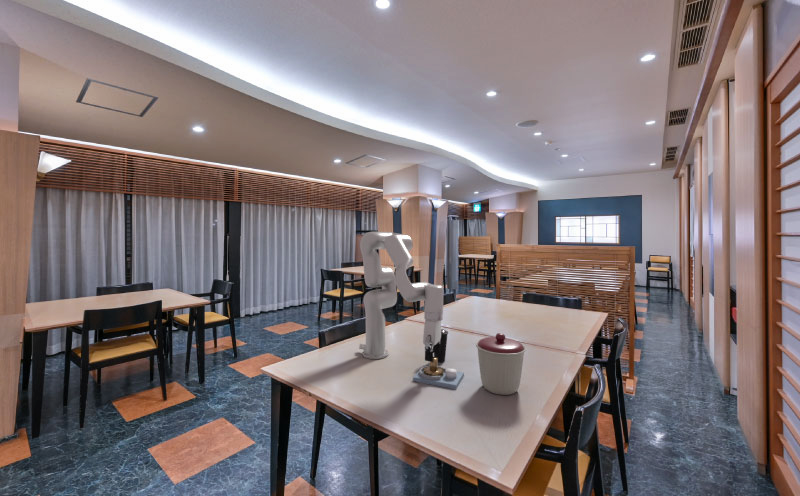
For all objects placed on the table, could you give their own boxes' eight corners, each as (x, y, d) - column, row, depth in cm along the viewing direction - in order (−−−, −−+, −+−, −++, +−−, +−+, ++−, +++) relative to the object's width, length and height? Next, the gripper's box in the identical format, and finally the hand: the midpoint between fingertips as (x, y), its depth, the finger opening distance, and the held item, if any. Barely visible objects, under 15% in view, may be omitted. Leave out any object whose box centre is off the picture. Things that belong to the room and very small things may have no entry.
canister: (519, 405, 110) (520, 343, 110) (468, 392, 120) (468, 335, 119) (529, 385, 126) (530, 331, 125) (483, 375, 135) (484, 324, 135)
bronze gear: (420, 375, 131) (420, 359, 130) (427, 368, 138) (427, 353, 138) (440, 379, 127) (440, 363, 127) (446, 371, 135) (446, 356, 135)
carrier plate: (413, 380, 129) (413, 371, 129) (423, 369, 141) (423, 359, 141) (456, 389, 122) (456, 378, 122) (463, 375, 134) (464, 366, 134)
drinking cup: (447, 364, 146) (447, 320, 146) (430, 363, 148) (430, 319, 147) (448, 358, 154) (448, 316, 153) (432, 357, 155) (432, 315, 155)
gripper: (431, 310, 142) (430, 348, 142) (417, 319, 126) (416, 362, 127) (448, 311, 139) (447, 351, 139) (436, 321, 123) (435, 366, 124)
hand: (432, 356), depth 133 cm, fingers open, 9 cm apart
